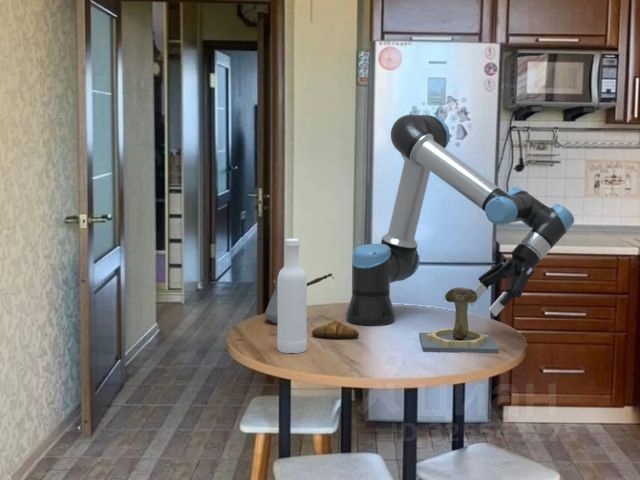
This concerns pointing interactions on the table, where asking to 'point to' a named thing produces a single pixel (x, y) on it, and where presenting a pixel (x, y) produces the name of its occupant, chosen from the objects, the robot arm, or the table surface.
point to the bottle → (292, 302)
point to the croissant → (335, 331)
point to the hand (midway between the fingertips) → (480, 307)
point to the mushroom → (461, 310)
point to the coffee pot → (272, 306)
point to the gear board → (457, 342)
